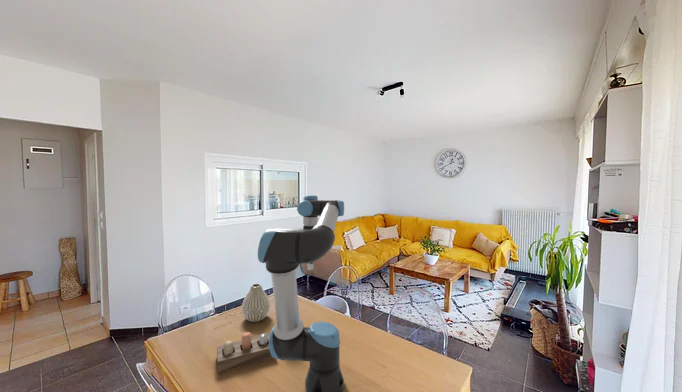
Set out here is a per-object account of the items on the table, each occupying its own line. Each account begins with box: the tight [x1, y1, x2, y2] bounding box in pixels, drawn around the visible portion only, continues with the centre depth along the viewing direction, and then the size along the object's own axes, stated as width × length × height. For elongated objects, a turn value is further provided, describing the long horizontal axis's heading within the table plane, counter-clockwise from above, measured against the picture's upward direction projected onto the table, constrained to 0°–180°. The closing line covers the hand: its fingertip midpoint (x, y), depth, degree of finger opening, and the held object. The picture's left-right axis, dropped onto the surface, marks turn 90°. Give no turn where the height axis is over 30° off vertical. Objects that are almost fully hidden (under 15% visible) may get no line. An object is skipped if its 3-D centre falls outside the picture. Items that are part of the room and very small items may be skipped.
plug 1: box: [223, 340, 234, 355], centre depth 119 cm, size 4×4×8 cm
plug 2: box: [258, 332, 269, 346], centre depth 125 cm, size 4×4×8 cm
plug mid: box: [241, 331, 252, 351], centre depth 122 cm, size 4×4×8 cm
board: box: [216, 333, 274, 374], centre depth 122 cm, size 12×24×5 cm, turn 117°
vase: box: [241, 283, 271, 323], centre depth 158 cm, size 16×16×20 cm
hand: (310, 269), depth 141 cm, fingers closed
